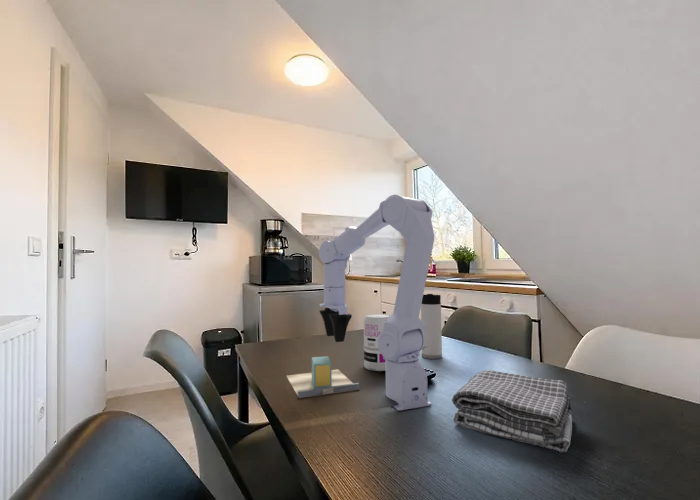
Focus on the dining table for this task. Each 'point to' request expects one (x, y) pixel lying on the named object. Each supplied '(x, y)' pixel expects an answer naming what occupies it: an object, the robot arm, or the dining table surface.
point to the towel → (516, 408)
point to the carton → (321, 372)
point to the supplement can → (373, 341)
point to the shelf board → (305, 388)
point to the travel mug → (431, 326)
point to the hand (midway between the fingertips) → (335, 338)
